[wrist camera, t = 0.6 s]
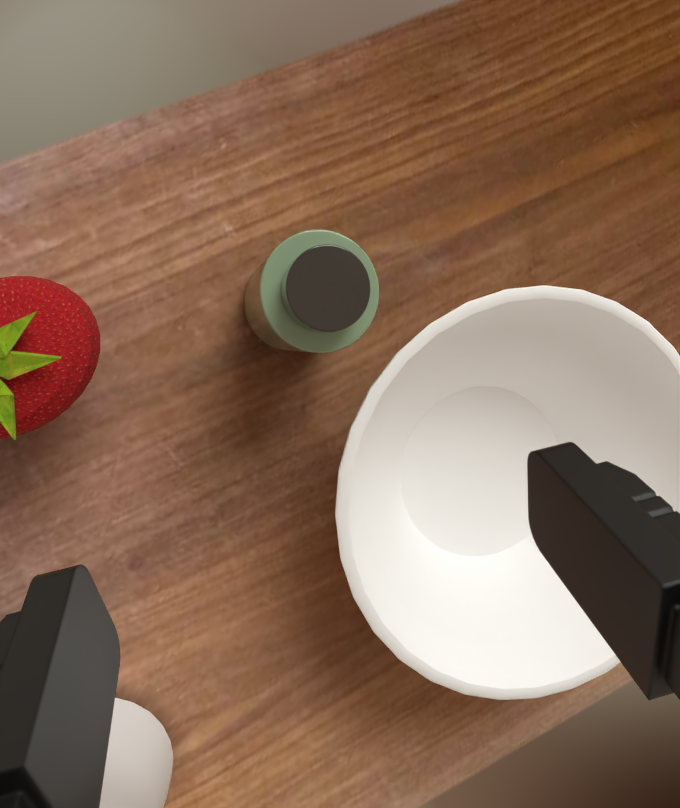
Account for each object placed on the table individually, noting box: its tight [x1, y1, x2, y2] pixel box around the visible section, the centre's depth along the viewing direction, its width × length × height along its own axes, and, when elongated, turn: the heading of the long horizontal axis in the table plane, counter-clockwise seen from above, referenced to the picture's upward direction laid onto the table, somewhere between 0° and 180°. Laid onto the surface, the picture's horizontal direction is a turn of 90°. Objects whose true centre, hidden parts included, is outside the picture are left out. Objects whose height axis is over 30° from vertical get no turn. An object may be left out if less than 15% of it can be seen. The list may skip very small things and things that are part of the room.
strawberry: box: [0, 276, 100, 440], centre depth 25 cm, size 6×8×10 cm
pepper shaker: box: [244, 229, 379, 353], centre depth 27 cm, size 5×5×10 cm
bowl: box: [335, 285, 680, 700], centre depth 32 cm, size 20×20×7 cm
